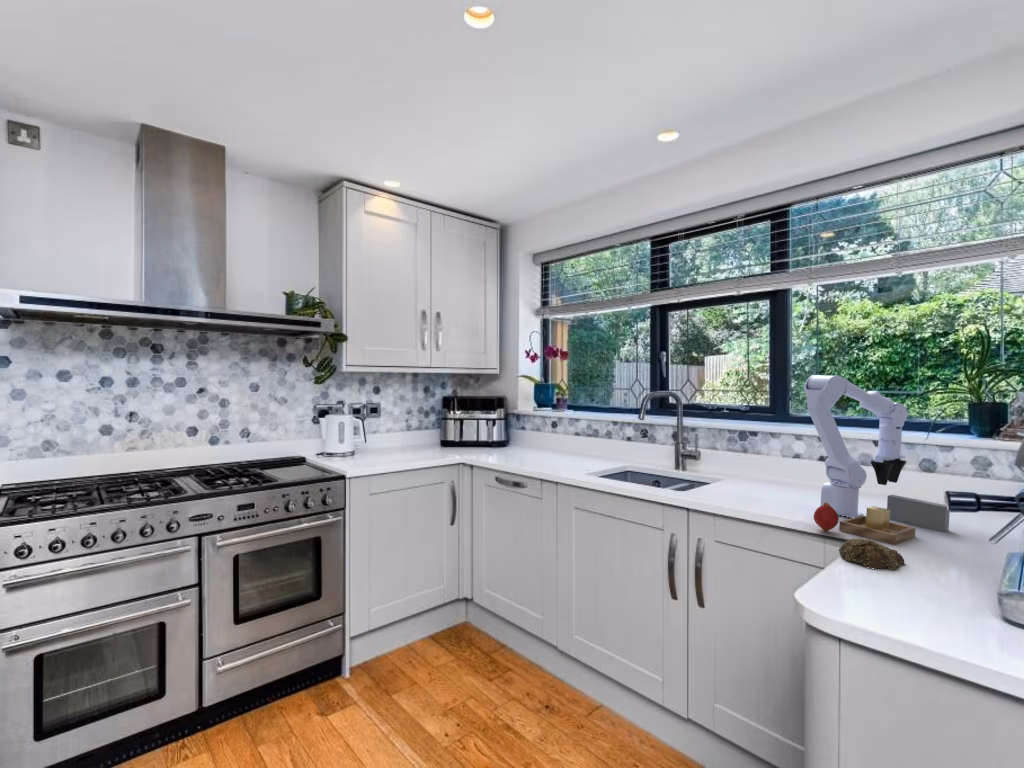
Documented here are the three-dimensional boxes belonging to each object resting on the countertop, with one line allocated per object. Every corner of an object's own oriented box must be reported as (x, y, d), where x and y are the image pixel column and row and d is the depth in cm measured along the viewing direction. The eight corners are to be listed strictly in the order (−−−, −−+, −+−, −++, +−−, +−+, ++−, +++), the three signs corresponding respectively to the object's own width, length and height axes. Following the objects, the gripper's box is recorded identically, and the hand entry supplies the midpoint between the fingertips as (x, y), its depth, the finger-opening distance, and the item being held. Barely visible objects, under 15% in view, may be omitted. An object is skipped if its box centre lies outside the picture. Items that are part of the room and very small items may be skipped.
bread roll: (846, 547, 128) (847, 528, 127) (907, 562, 119) (908, 541, 118) (830, 559, 119) (831, 538, 119) (895, 576, 110) (897, 554, 110)
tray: (839, 530, 141) (839, 521, 141) (860, 523, 148) (861, 515, 148) (894, 544, 130) (894, 535, 130) (914, 536, 137) (915, 527, 137)
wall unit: (886, 518, 154) (887, 495, 154) (891, 517, 156) (892, 494, 156) (944, 532, 142) (946, 507, 142) (948, 530, 144) (950, 505, 144)
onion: (815, 526, 144) (816, 498, 144) (839, 531, 140) (840, 502, 140) (811, 531, 139) (812, 502, 139) (836, 536, 136) (837, 506, 135)
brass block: (865, 529, 140) (866, 507, 139) (872, 527, 142) (873, 506, 142) (882, 533, 136) (883, 511, 136) (888, 531, 138) (890, 509, 138)
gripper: (894, 443, 152) (892, 488, 153) (914, 440, 160) (912, 483, 161) (868, 440, 158) (865, 483, 159) (888, 437, 166) (886, 479, 167)
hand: (887, 483), depth 160 cm, fingers open, 7 cm apart
